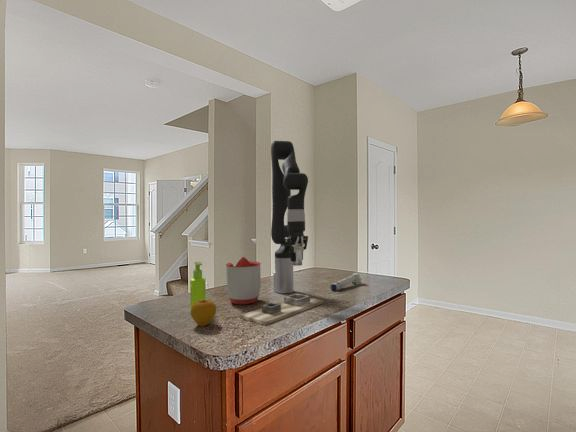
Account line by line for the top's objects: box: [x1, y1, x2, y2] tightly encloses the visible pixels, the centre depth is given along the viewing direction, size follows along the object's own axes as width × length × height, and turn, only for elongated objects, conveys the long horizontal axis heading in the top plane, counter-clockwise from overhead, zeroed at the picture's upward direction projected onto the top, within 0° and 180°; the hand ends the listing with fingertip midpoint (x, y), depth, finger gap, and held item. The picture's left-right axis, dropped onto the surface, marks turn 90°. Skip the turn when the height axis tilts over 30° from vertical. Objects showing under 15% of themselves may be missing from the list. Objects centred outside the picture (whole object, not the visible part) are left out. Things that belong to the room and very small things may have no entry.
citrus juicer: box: [225, 256, 262, 306], centre depth 146 cm, size 16×17×20 cm
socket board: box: [240, 293, 324, 326], centre depth 131 cm, size 13×36×4 cm, turn 140°
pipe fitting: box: [292, 246, 303, 267], centre depth 137 cm, size 4×4×8 cm
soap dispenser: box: [189, 261, 207, 309], centre depth 130 cm, size 6×7×20 cm
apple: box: [190, 299, 217, 327], centre depth 114 cm, size 9×9×9 cm
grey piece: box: [329, 272, 362, 292], centre depth 171 cm, size 5×7×25 cm
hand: (296, 260), depth 137 cm, fingers closed on pipe fitting, 4 cm apart
